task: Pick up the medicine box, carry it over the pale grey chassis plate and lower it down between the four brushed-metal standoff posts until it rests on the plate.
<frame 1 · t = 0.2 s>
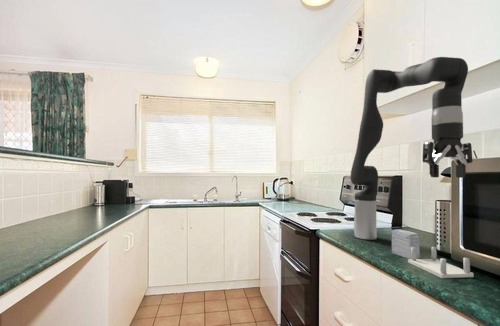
hand: (447, 177, 77), 28 cm above the worktop, tool pointing down, fingers open, 8 cm apart
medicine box: (405, 256, 92), on the worktop
chassis: (438, 269, 79), on the worktop
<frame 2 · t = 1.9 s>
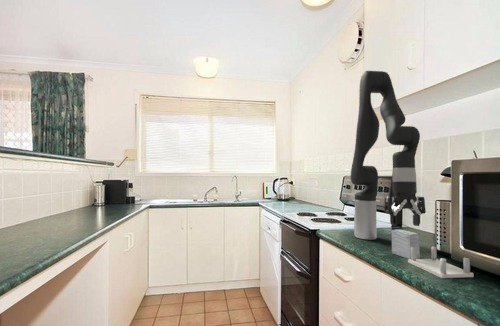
hand: (405, 225, 92), 11 cm above the worktop, tool pointing down, fingers open, 8 cm apart
nothing on the worktop moved.
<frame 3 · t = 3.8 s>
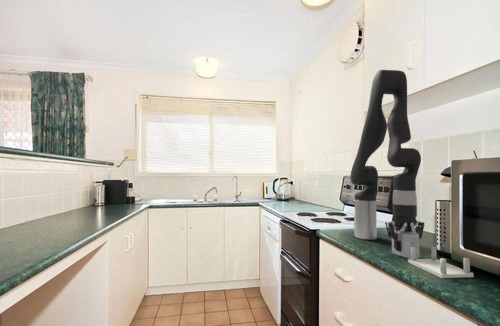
hand: (405, 250, 92), 2 cm above the worktop, tool pointing down, fingers closed on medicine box, 5 cm apart
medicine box: (405, 256, 92), on the worktop, touching gripper
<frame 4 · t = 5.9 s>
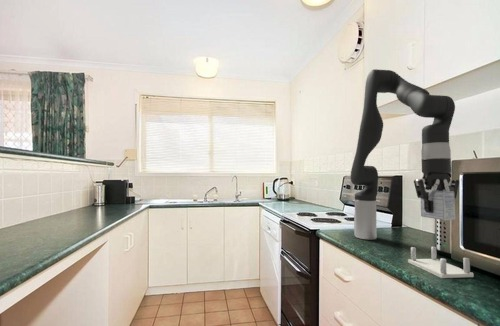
hand: (437, 212, 80), 17 cm above the worktop, tool pointing down, fingers closed on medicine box, 5 cm apart
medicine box: (437, 219, 80), point 15 cm above the worktop, touching gripper
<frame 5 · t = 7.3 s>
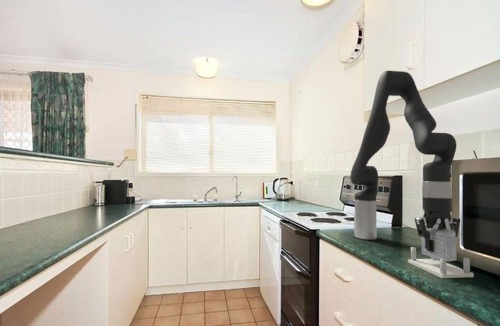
hand: (438, 251, 79), 5 cm above the worktop, tool pointing down, fingers closed on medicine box, 5 cm apart
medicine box: (438, 258, 79), point 3 cm above the worktop, touching gripper
when the fingers open (4 cm above the worktop, at t = 8.3 s): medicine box drops 1 cm, resting on chassis.
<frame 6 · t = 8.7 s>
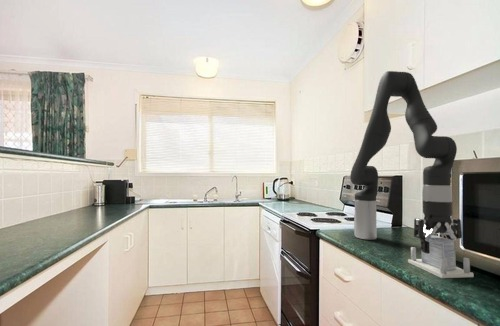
hand: (438, 252, 79), 5 cm above the worktop, tool pointing down, fingers open, 8 cm apart
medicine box: (437, 266, 79), point 1 cm above the worktop, touching chassis
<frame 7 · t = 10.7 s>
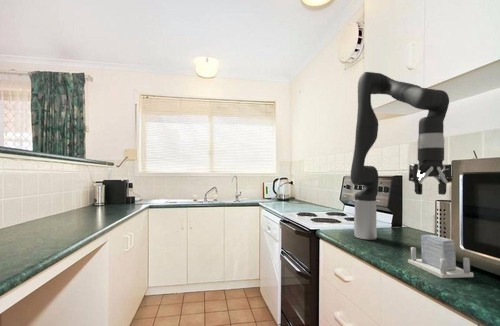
hand: (430, 194, 88), 22 cm above the worktop, tool pointing down, fingers open, 8 cm apart
nothing on the worktop moved.
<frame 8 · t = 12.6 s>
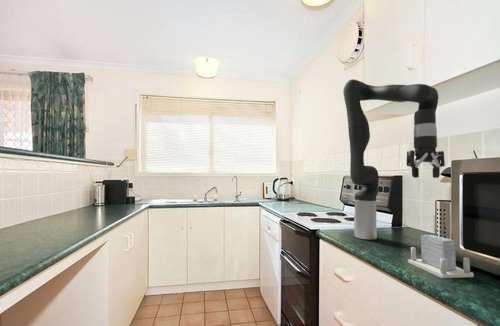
hand: (425, 177, 100), 28 cm above the worktop, tool pointing down, fingers open, 8 cm apart
nothing on the worktop moved.
at the end: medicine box 0.2 cm off-centre on the chassis, point 0.8 cm above the chassis's base; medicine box tilted 0°; the gripper is holding nothing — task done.
